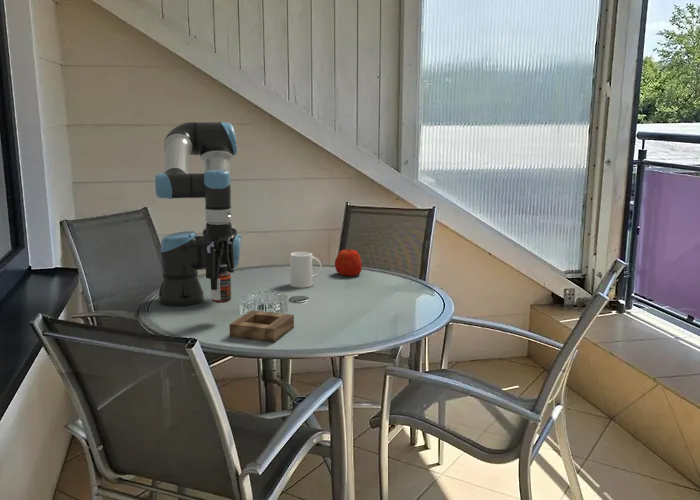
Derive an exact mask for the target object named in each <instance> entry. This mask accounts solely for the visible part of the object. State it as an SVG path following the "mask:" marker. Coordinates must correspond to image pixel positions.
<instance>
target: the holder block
mask: <svg viewBox="0 0 700 500" xmlns="http://www.w3.org/2000/svg"><path fill="white" fill-rule="evenodd" d="M294 328H295V315H294V314H289V313H279V312H278V313H277V312H271V311H270V312H269V311H260V310H249V311H248V312H246V313H245V314H244V315H242V316H240V317H238V318H237V319H235V320H234V321H232V322H231V323H230V322H229V338H234V339H240V340H250V341H257V342H267V343H273V344H276V343H277V342H278V341H280V340H281V338H283V337H284V336H285V335H286V334H288V333H289V332H290V331H291V330H293V329H294Z"/></svg>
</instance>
